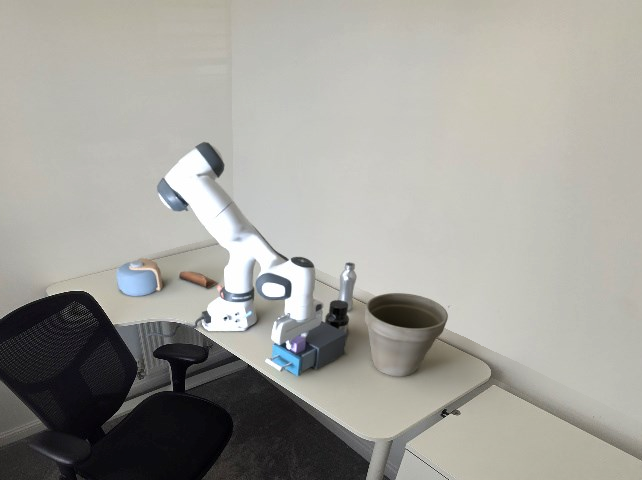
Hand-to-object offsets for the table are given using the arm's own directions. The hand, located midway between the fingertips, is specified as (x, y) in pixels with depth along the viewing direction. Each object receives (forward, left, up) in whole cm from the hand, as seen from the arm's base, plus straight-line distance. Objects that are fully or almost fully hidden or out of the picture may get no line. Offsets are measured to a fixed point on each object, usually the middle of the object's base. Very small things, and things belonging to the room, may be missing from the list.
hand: (296, 345), depth 147 cm
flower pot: (+34, -6, -8) cm, 35 cm away
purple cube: (0, 0, -2) cm, 2 cm away
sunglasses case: (-26, +76, -8) cm, 80 cm away
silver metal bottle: (+32, +36, -8) cm, 48 cm away
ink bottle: (+22, +19, -8) cm, 30 cm away
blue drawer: (-1, -1, -7) cm, 7 cm away
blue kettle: (-53, +75, -8) cm, 92 cm away
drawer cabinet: (+10, +6, -8) cm, 14 cm away
